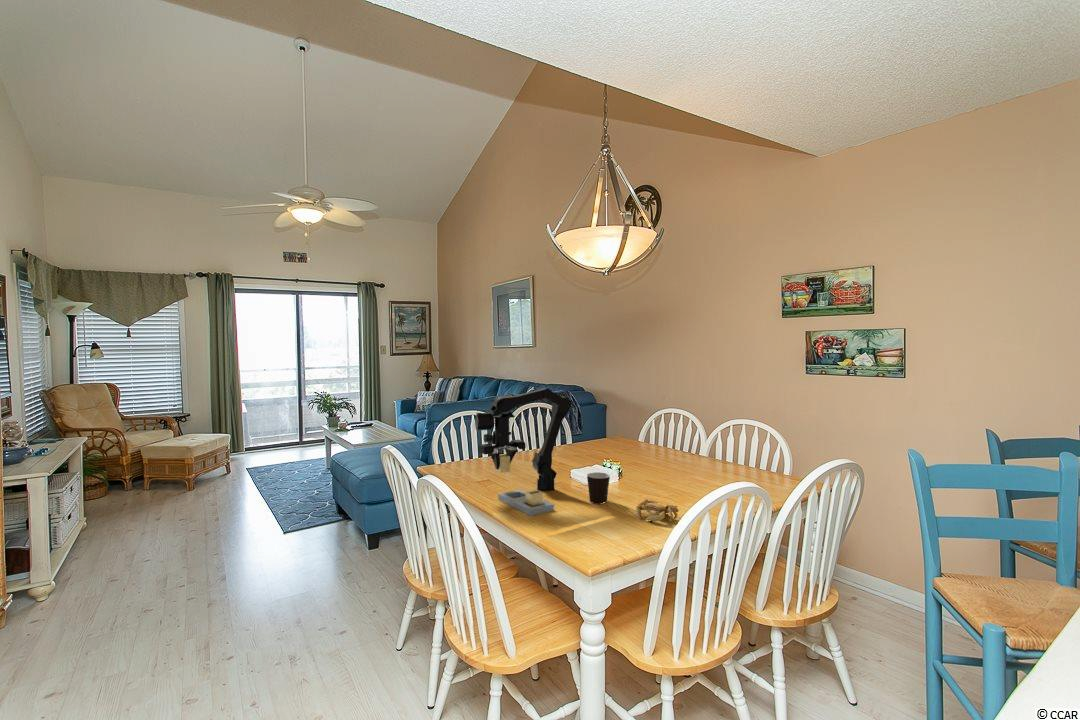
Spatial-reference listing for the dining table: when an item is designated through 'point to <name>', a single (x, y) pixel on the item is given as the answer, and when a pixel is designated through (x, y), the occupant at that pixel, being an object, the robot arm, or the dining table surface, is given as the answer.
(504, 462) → the block
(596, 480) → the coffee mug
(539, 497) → the block
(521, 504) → the grey slotted plate
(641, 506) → the crab model
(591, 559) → the dining table surface
